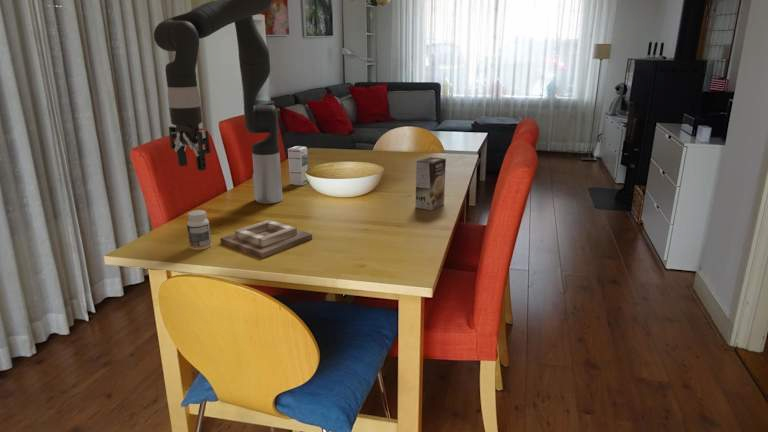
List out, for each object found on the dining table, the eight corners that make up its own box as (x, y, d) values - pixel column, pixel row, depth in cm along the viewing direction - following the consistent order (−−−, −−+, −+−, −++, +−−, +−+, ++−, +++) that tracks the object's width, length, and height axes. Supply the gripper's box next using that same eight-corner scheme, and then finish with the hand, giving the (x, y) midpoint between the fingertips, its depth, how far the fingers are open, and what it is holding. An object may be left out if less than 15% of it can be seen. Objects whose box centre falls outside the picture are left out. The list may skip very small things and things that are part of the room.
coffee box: (431, 211, 175) (432, 163, 170) (414, 207, 178) (415, 161, 173) (444, 204, 182) (446, 158, 177) (428, 201, 186) (429, 156, 180)
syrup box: (303, 185, 206) (301, 149, 202) (289, 184, 208) (287, 148, 204) (309, 182, 212) (307, 146, 207) (296, 181, 213) (294, 145, 209)
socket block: (220, 243, 148) (219, 231, 147) (270, 226, 161) (270, 215, 160) (262, 258, 137) (261, 245, 136) (312, 238, 150) (311, 227, 149)
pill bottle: (192, 243, 148) (188, 209, 144) (213, 242, 148) (210, 208, 145) (187, 251, 142) (182, 216, 139) (209, 250, 143) (205, 215, 140)
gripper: (214, 105, 132) (220, 169, 137) (182, 102, 140) (189, 162, 145) (187, 108, 126) (195, 174, 131) (155, 104, 134) (164, 166, 139)
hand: (192, 167), depth 138 cm, fingers open, 8 cm apart
